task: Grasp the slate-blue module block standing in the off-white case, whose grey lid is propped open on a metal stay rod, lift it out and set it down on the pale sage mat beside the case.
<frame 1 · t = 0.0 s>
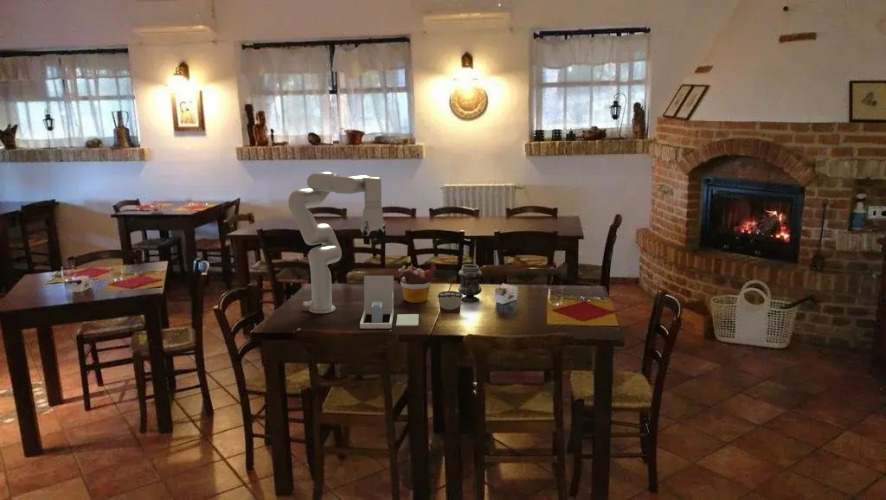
hand: (373, 242, 306), 37 cm above the table, tool pointing down, fingers open, 9 cm apart
case: (377, 320, 316), on the table
food container: (449, 312, 329), on the table
apothecary jar: (469, 300, 350), on the table
module: (377, 320, 316), resting in case
mat: (407, 320, 316), on the table
bucket of meat: (417, 300, 349), on the table
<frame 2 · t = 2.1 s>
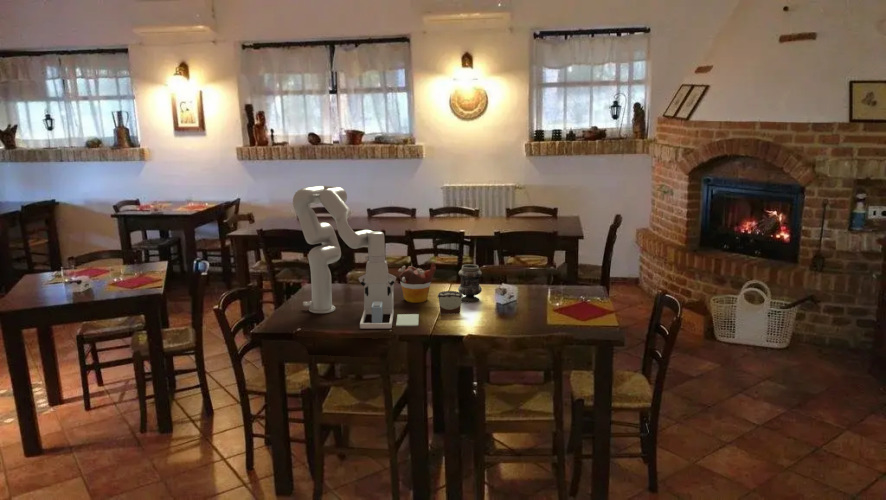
hand: (378, 295, 313), 12 cm above the table, tool pointing down, fingers open, 9 cm apart
nothing on the table moved.
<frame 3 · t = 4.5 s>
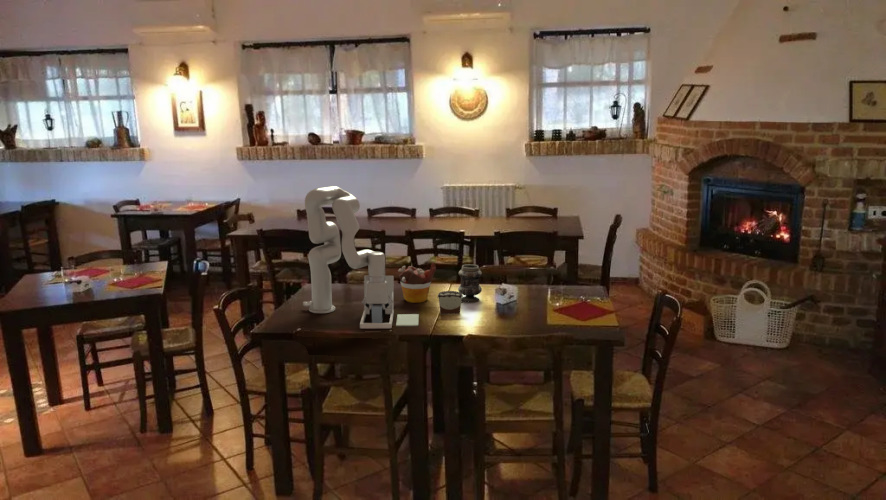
hand: (377, 316, 315), 2 cm above the table, tool pointing down, fingers closed on module, 4 cm apart
module: (377, 320, 316), resting in case, touching gripper
everything else where it was.
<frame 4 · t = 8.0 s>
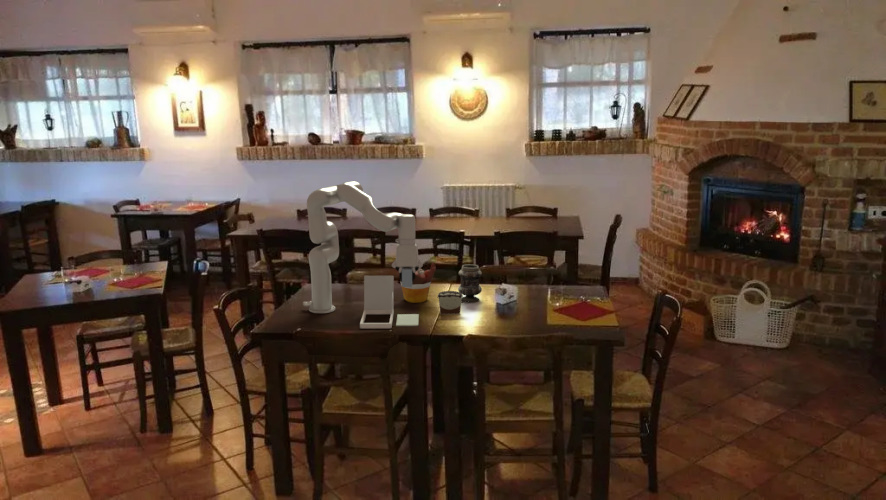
hand: (407, 280, 312), 19 cm above the table, tool pointing down, fingers closed on module, 4 cm apart
module: (407, 284, 312), point 17 cm above the table, touching gripper
everything else where it was.
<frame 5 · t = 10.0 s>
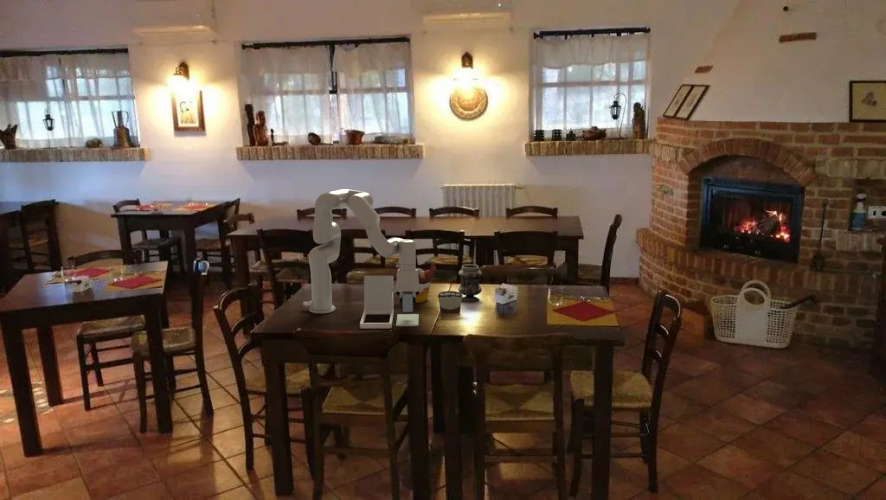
hand: (407, 304, 314), 8 cm above the table, tool pointing down, fingers closed on module, 4 cm apart
module: (407, 308, 315), point 6 cm above the table, touching gripper
everything else where it was.
when the fingers open (4 cm above the table, at t = 11.5 s): module drops 2 cm, resting on mat.
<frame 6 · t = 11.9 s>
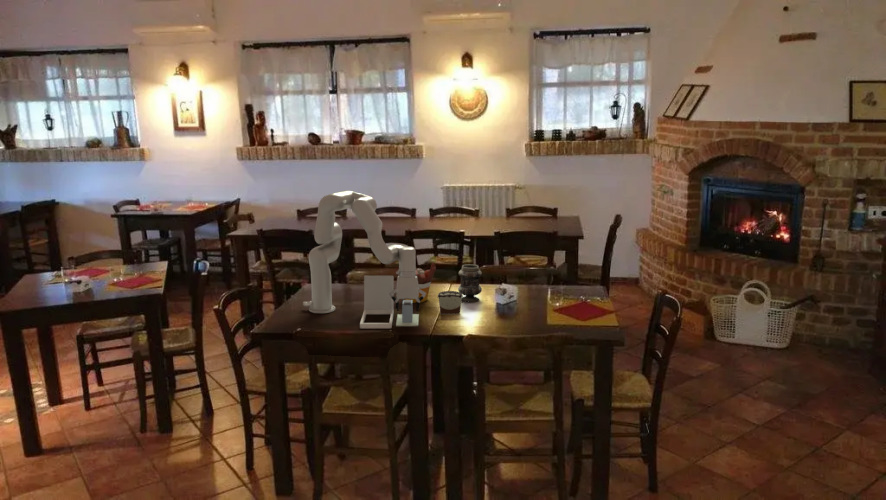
hand: (407, 310, 315), 5 cm above the table, tool pointing down, fingers open, 8 cm apart
module: (407, 319, 316), point 1 cm above the table, touching mat
everything else where it was.
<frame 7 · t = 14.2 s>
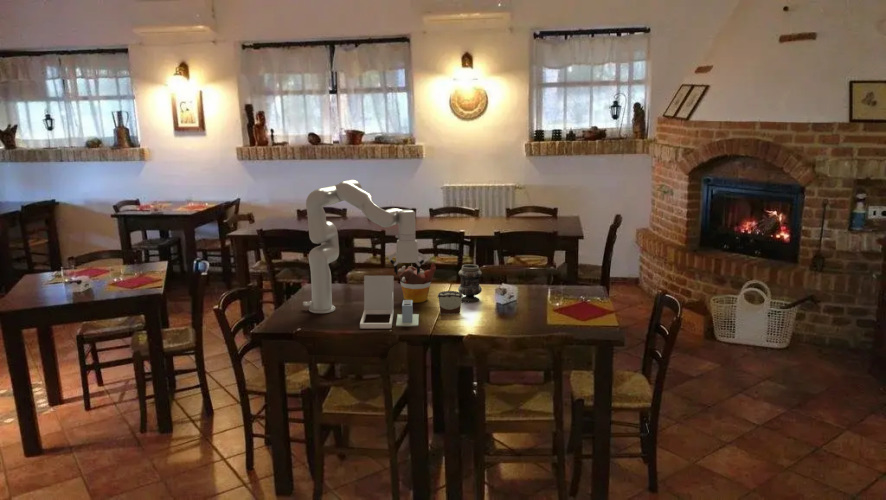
hand: (407, 274, 311), 22 cm above the table, tool pointing down, fingers open, 9 cm apart
nothing on the table moved.
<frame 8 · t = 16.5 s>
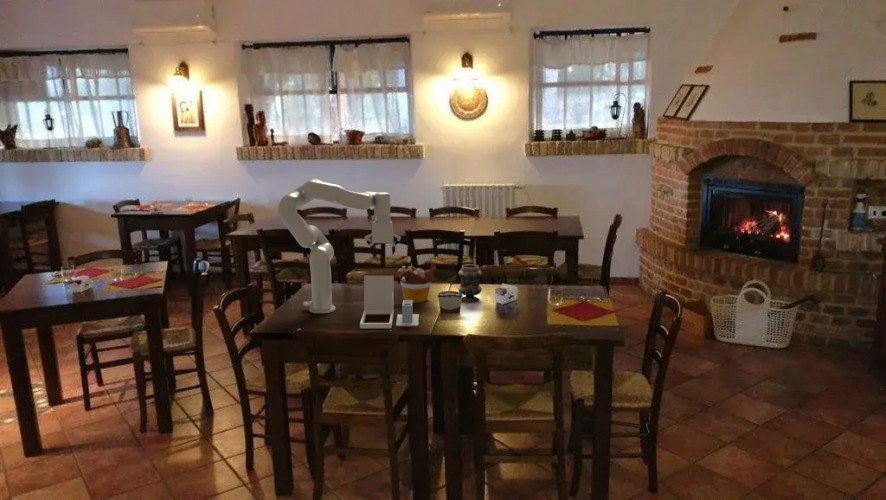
hand: (382, 254, 325), 28 cm above the table, tool pointing down, fingers open, 9 cm apart
nothing on the table moved.
at the end: module inside the target area on the mat (0.0 cm from its centre), point 0.6 cm above the mat's base; module tilted 0°; the gripper is holding nothing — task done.
